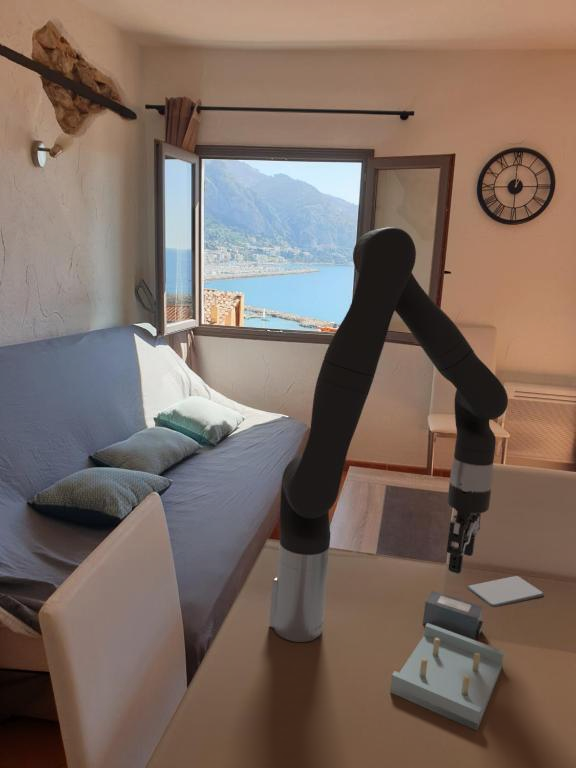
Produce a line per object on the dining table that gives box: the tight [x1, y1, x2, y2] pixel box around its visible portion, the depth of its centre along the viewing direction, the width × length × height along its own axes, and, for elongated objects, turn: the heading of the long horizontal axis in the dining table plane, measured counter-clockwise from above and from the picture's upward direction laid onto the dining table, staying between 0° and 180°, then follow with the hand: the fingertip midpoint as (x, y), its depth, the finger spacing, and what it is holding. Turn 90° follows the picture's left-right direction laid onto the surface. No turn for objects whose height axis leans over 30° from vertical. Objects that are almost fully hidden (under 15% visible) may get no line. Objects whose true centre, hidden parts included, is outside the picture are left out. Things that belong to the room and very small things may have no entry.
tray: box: [389, 623, 505, 731], centre depth 100 cm, size 14×18×4 cm
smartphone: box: [467, 575, 544, 607], centre depth 130 cm, size 8×1×15 cm
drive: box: [422, 590, 484, 641], centre depth 115 cm, size 10×5×5 cm, turn 61°
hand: (460, 562), depth 113 cm, fingers open, 8 cm apart
